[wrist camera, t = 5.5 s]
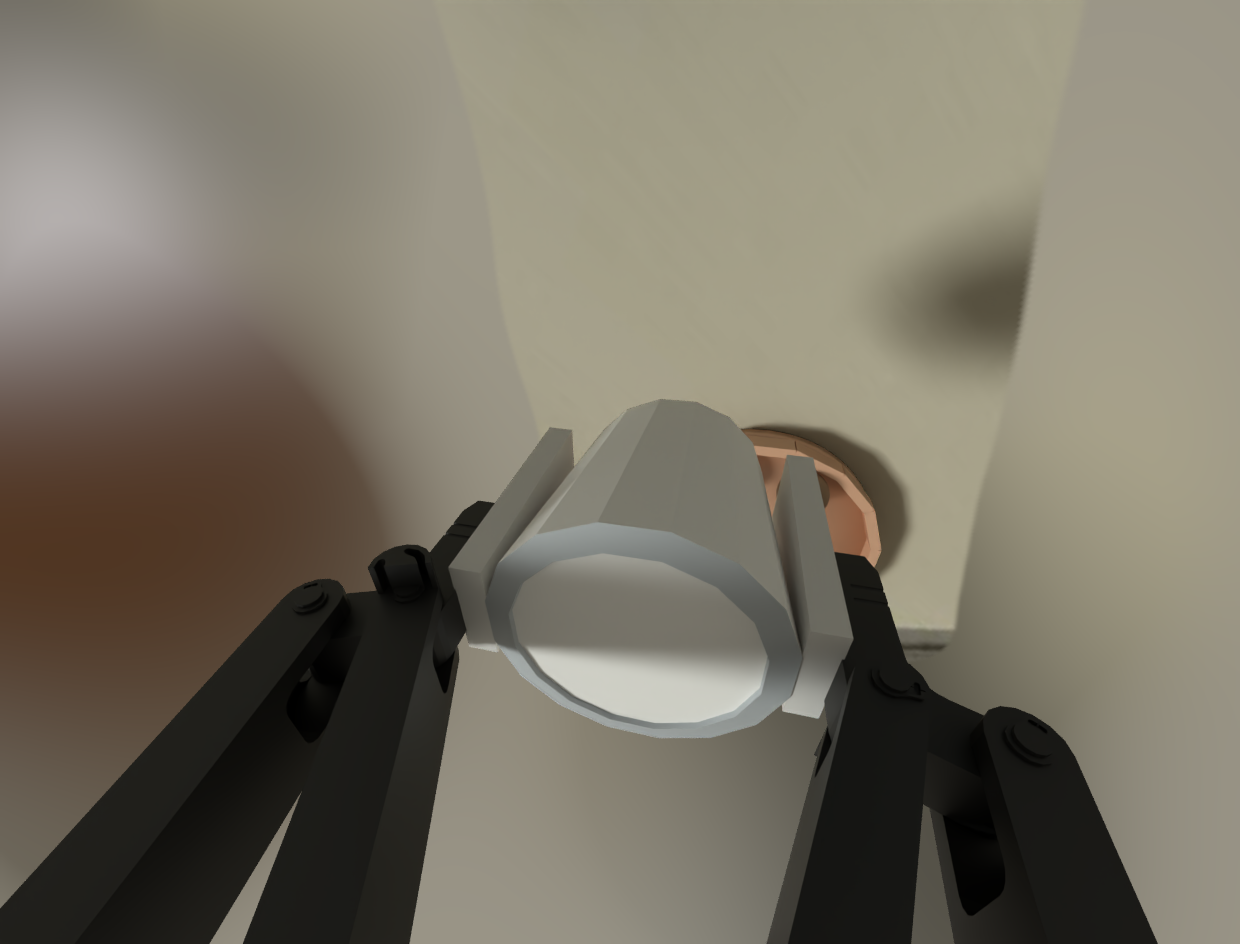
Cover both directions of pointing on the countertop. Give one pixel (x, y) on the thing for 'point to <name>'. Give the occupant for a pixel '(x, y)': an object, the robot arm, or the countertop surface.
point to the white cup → (654, 582)
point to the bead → (823, 489)
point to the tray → (847, 500)
